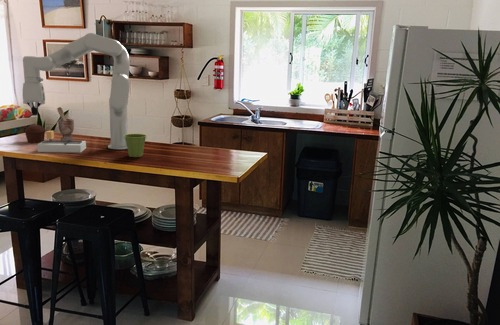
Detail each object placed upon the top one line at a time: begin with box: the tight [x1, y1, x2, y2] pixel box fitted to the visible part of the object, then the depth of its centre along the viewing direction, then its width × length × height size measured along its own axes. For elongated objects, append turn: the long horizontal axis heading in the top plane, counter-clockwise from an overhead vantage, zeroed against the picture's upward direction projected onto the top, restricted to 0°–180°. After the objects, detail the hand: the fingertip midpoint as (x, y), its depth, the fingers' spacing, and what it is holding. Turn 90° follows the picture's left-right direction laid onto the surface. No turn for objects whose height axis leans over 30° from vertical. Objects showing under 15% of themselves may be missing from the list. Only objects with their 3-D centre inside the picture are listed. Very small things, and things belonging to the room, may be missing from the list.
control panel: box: [36, 139, 87, 154], centre depth 233 cm, size 22×12×5 cm, turn 97°
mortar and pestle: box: [56, 107, 75, 141], centre depth 255 cm, size 12×9×20 cm
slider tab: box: [45, 130, 55, 142], centre depth 231 cm, size 2×4×6 cm, turn 7°
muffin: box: [23, 124, 47, 144], centre depth 249 cm, size 12×11×10 cm
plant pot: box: [124, 133, 148, 158], centre depth 226 cm, size 12×12×11 cm
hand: (35, 114), depth 227 cm, fingers closed
